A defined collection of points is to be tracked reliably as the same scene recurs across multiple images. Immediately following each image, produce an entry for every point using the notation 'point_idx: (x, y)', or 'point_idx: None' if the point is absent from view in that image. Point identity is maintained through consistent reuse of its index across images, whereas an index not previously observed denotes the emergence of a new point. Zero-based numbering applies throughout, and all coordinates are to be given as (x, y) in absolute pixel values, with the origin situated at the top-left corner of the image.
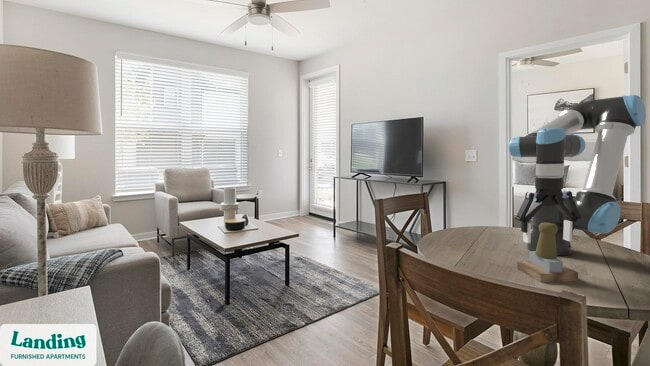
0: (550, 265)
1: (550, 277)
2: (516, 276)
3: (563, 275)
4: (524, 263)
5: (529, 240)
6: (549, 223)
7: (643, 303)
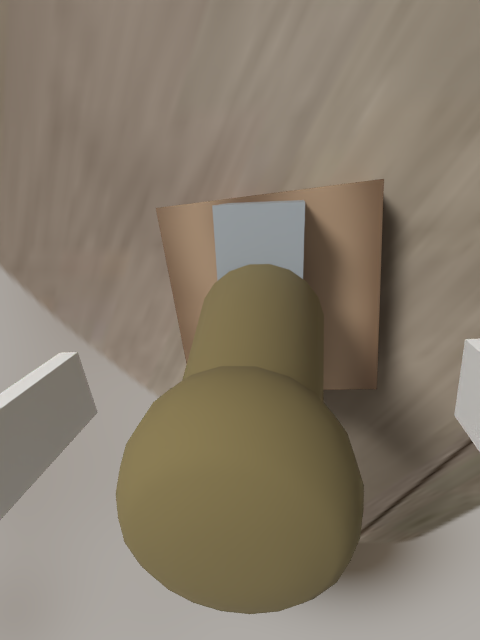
0: None
1: None
2: (133, 309)
3: None
4: (180, 248)
5: (75, 427)
6: (228, 584)
7: (425, 532)
